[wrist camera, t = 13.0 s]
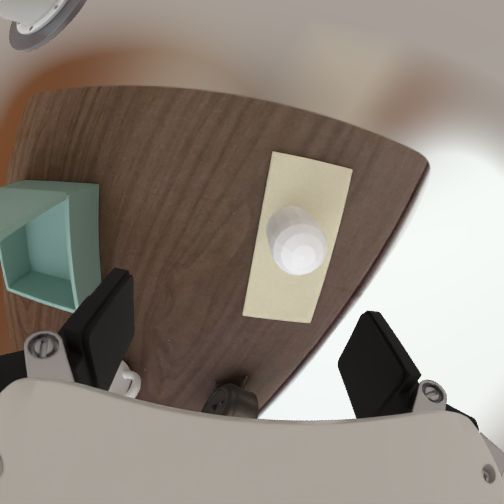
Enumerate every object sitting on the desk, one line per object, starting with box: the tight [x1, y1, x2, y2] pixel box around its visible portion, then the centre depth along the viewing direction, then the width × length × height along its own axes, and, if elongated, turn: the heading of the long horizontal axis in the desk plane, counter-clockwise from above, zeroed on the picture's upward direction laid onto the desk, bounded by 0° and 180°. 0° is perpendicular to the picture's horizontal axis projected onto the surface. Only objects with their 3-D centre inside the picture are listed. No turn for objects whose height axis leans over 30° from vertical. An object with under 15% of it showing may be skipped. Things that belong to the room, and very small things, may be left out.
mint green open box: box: [0, 180, 101, 313], centre depth 27 cm, size 14×14×7 cm
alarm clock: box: [201, 375, 259, 419], centre depth 32 cm, size 11×5×16 cm, turn 145°
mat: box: [243, 151, 352, 323], centre depth 31 cm, size 20×9×1 cm, turn 170°
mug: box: [109, 360, 141, 398], centre depth 34 cm, size 12×8×10 cm
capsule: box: [266, 206, 327, 275], centre depth 26 cm, size 5×5×8 cm
